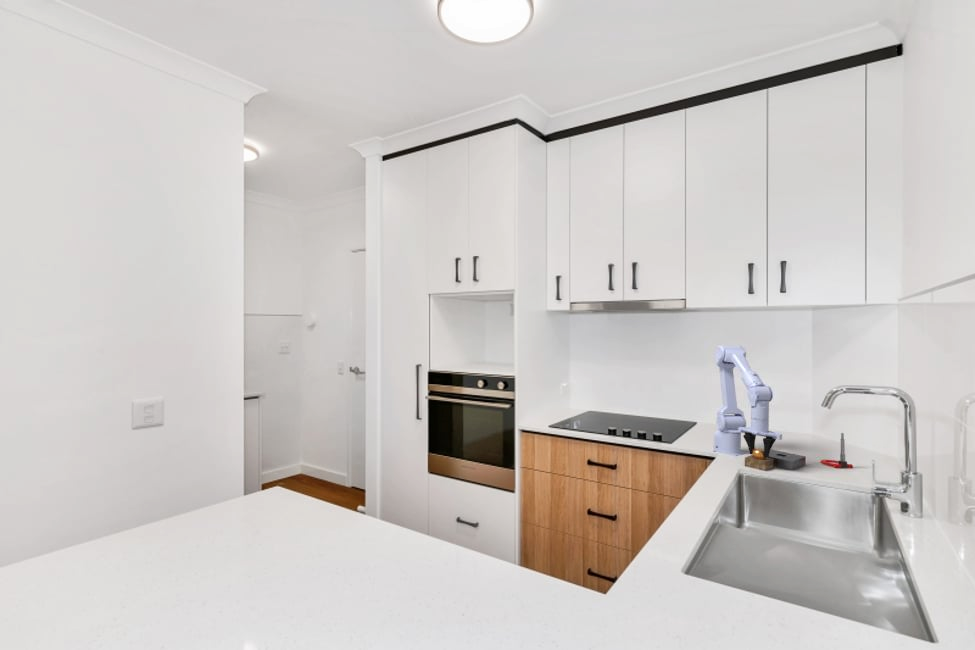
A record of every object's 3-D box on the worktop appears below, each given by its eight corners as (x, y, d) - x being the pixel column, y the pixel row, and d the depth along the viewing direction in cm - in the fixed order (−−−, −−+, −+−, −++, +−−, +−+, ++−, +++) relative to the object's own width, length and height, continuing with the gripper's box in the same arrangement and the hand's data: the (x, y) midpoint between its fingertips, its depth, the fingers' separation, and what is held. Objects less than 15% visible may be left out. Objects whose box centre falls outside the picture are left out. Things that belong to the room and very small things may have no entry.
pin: (749, 466, 176) (750, 449, 176) (755, 464, 179) (755, 447, 179) (762, 469, 173) (762, 452, 173) (768, 467, 175) (768, 450, 175)
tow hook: (815, 462, 185) (833, 468, 176) (815, 429, 186) (832, 433, 177) (836, 462, 185) (855, 468, 176) (836, 429, 186) (855, 433, 177)
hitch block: (757, 463, 181) (757, 454, 181) (771, 458, 189) (771, 449, 189) (792, 471, 172) (792, 461, 172) (805, 465, 179) (805, 456, 179)
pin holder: (744, 466, 176) (744, 457, 176) (753, 463, 181) (753, 454, 181) (764, 471, 171) (764, 462, 171) (773, 468, 175) (773, 458, 175)
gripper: (734, 416, 179) (733, 452, 179) (776, 423, 167) (775, 461, 167) (743, 414, 183) (742, 449, 183) (784, 421, 172) (784, 458, 172)
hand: (759, 455), depth 176 cm, fingers closed on pin, 4 cm apart
